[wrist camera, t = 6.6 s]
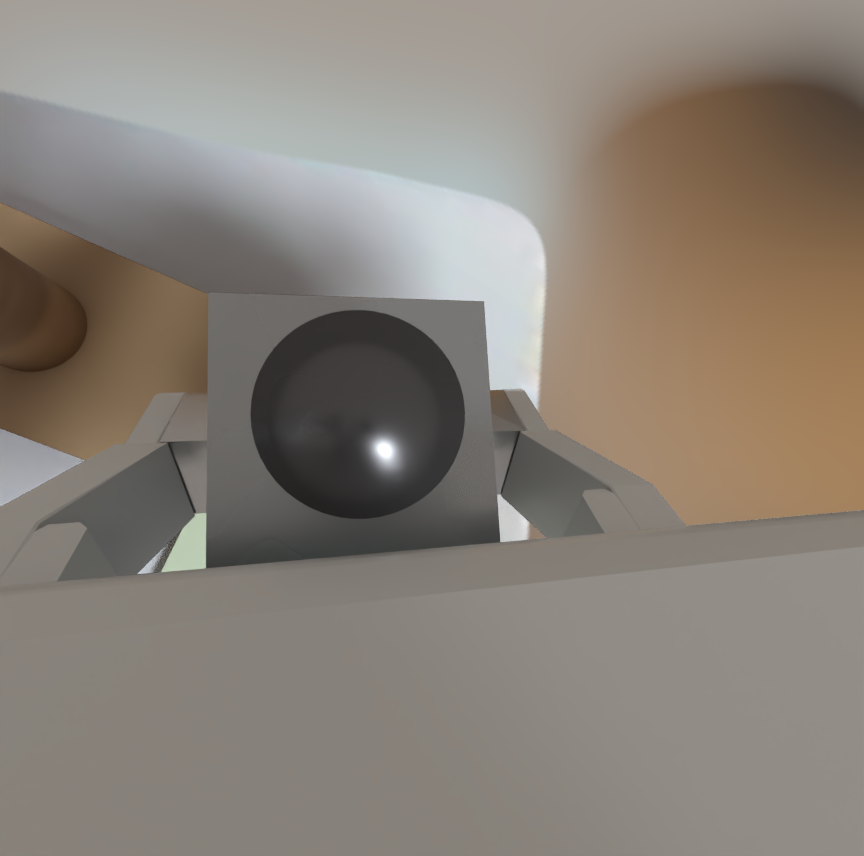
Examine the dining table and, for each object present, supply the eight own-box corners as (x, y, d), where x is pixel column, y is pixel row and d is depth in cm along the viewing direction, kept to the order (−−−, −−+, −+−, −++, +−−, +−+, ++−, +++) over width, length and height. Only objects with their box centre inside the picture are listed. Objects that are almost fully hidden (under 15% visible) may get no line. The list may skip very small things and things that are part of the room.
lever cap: (287, 527, 14) (135, 645, 4) (285, 394, 14) (146, 211, 4) (420, 517, 15) (562, 595, 5) (415, 392, 15) (532, 236, 5)
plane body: (-3, 407, 18) (-346, 338, 9) (84, 267, 19) (-144, 89, 10) (430, 572, 20) (488, 643, 12) (480, 439, 22) (566, 412, 13)
